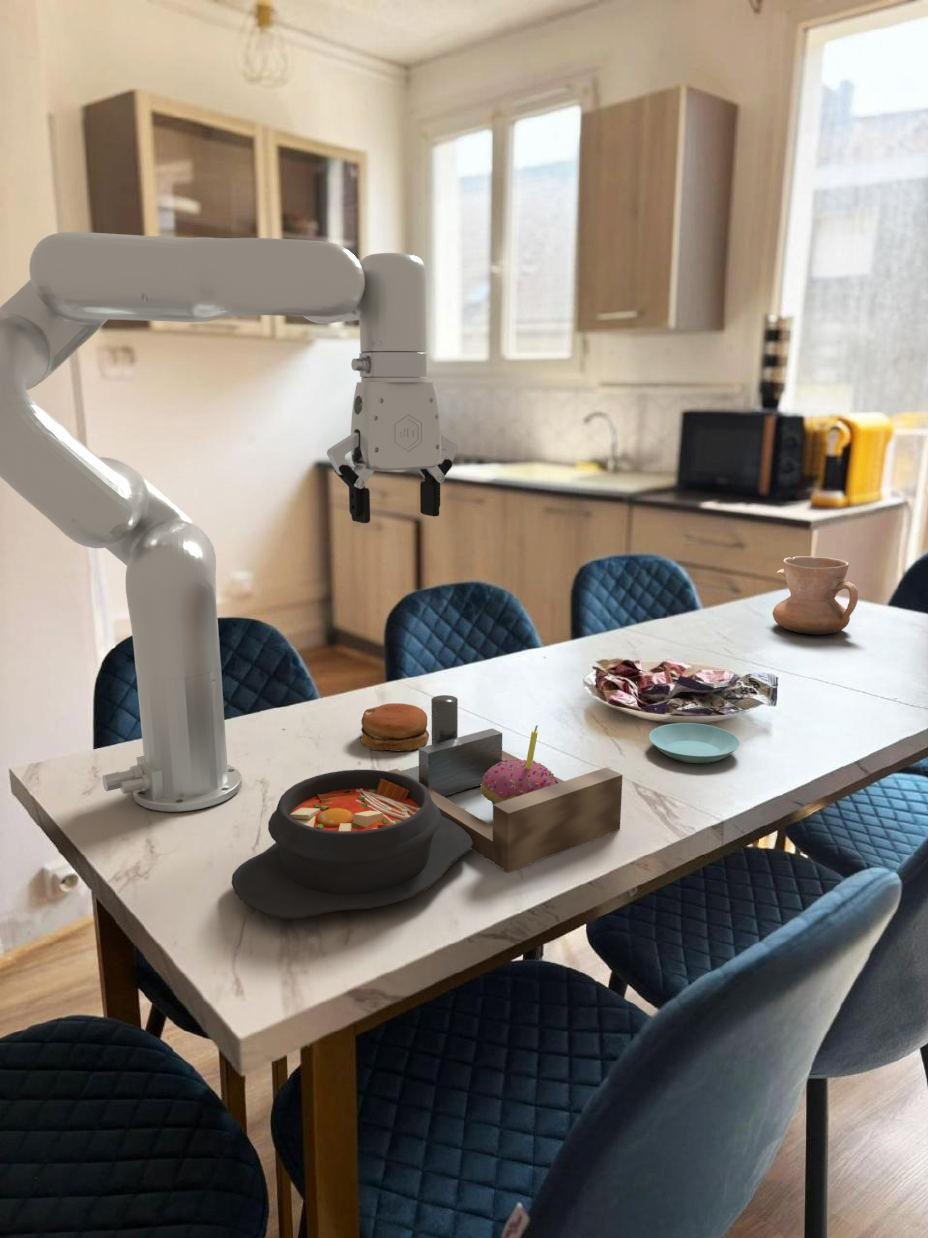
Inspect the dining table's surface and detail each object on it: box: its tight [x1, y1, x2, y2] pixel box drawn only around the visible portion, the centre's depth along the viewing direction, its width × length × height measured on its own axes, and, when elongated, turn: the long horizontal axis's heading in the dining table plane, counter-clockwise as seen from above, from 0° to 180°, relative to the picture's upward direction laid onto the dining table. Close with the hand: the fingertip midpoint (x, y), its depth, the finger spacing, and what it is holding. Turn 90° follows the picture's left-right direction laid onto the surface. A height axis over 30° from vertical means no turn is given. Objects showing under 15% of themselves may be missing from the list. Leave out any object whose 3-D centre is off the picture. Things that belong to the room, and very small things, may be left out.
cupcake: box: [480, 724, 558, 805], centre depth 103 cm, size 9×8×12 cm
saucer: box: [648, 722, 741, 764], centre depth 124 cm, size 12×12×2 cm
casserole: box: [231, 769, 473, 920], centre depth 92 cm, size 25×19×8 cm
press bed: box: [387, 749, 623, 873], centre depth 107 cm, size 16×24×6 cm, turn 36°
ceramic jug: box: [772, 555, 859, 635], centre depth 184 cm, size 18×14×14 cm
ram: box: [401, 694, 503, 797], centre depth 113 cm, size 11×7×10 cm, turn 126°
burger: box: [360, 702, 430, 752], centre depth 128 cm, size 10×9×5 cm
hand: (396, 518), depth 110 cm, fingers open, 9 cm apart
